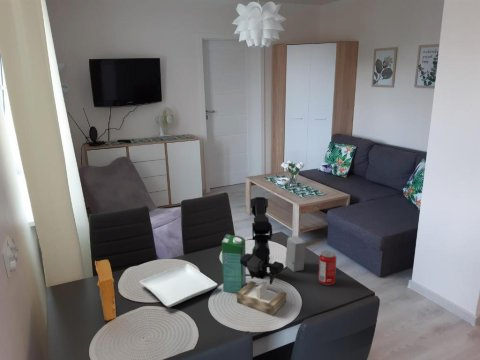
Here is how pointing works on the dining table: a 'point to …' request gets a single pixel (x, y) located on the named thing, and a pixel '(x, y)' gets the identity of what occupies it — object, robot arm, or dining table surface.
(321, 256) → the red food canister
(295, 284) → the dining table surface
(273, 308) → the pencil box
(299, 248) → the skincare box
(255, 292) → the lid
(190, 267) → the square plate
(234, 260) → the milk carton
